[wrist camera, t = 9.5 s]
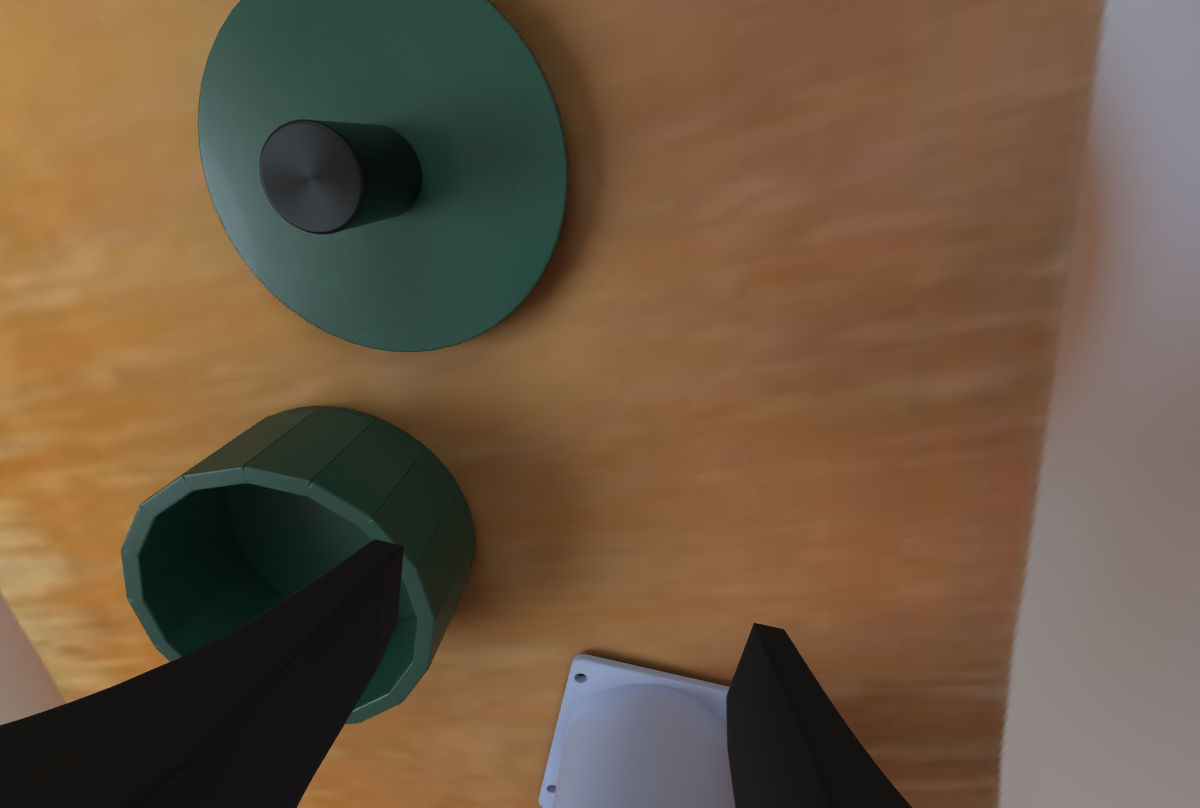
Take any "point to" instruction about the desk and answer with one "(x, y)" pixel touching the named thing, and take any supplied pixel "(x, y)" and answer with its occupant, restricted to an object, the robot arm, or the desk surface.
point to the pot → (301, 536)
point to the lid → (385, 163)
